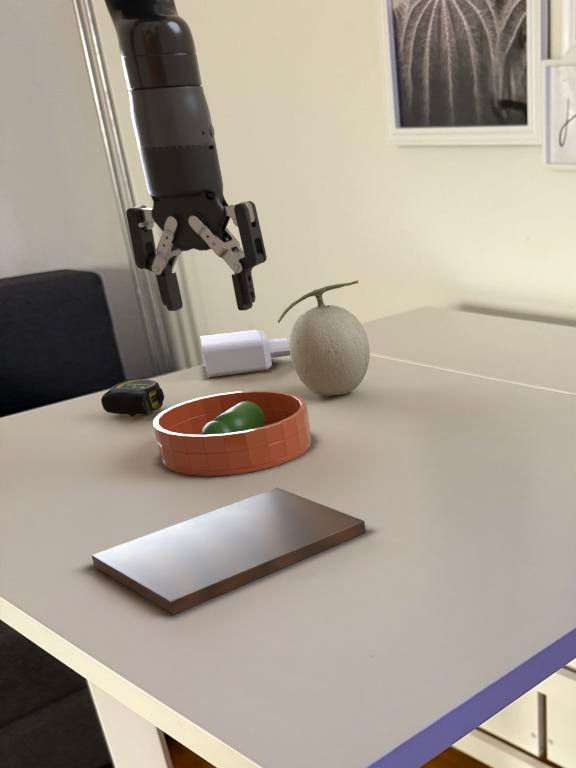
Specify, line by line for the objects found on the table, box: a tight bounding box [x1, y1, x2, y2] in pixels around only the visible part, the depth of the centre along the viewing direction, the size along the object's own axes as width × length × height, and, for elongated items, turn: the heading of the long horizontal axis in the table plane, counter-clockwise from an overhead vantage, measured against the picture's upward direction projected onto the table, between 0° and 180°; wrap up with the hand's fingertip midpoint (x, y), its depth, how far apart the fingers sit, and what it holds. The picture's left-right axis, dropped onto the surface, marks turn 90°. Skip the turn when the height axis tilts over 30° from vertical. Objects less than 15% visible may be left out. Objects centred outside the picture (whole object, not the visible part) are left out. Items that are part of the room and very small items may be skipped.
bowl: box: [152, 390, 312, 477], centre depth 108 cm, size 17×17×4 cm
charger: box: [199, 329, 290, 378], centre depth 142 cm, size 5×9×15 cm
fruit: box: [277, 279, 371, 397], centre depth 123 cm, size 10×12×15 cm
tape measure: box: [100, 378, 165, 418], centre depth 124 cm, size 7×7×4 cm
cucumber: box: [201, 401, 264, 435], centre depth 108 cm, size 11×4×4 cm, turn 166°
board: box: [91, 487, 367, 615], centre depth 84 cm, size 20×14×1 cm
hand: (210, 309), depth 101 cm, fingers open, 8 cm apart
